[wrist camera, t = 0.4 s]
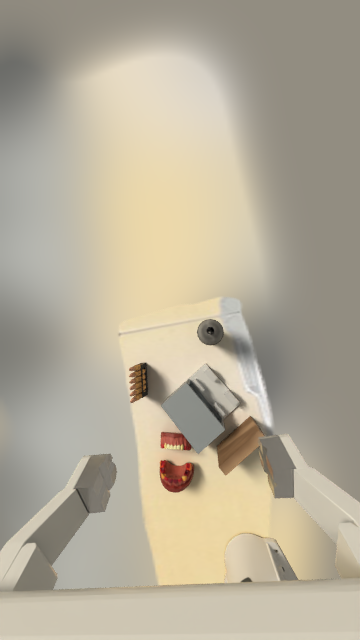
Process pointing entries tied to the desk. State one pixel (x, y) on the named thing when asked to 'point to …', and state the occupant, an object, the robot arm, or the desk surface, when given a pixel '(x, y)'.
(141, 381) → the ammunition clip
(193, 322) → the desk surface
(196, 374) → the cabinet
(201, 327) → the beverage cup
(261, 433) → the door
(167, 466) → the teeth
